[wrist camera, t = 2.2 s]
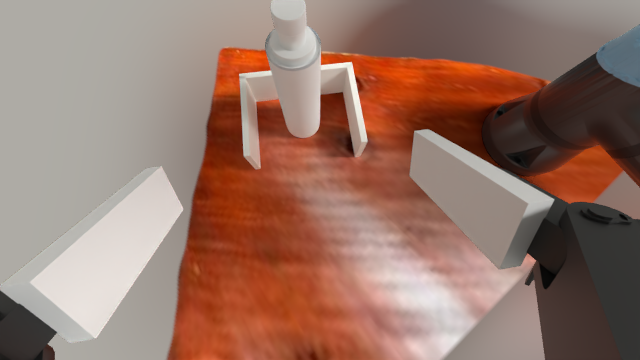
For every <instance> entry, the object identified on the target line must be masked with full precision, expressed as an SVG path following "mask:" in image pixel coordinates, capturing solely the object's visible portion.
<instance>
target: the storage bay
mask: <svg viewBox="0 0 640 360" xmlns="http://www.w3.org/2000/svg"><path fill="white" fill-rule="evenodd" d="M239 75H240V94H241V114H242V133H243V153H244V157H245V158H246V160H247V161H248V162H249V163H250V164H251V165H252V166H253V167H254V168H255V169H261V163H260V149H259V135H258V121H257V107H256V102H258V101H267V100H276V99H279V97H278V94H277V90H276V86H275V83H274V79H273V76H272V72H271V71H263V72H253V73H244V74H239ZM339 92H343V95H344V100H345V106H346V111H347V117H348V122H349V128H350V133H351V139H352V144H353V150H354V155H355V157H360V156H361V154H362V152H363V150H364V148H365V146H366V144H367V142H368V140H367V135H366V130H365V125H364V120H363V115H362V111H361V106H360V101H359V96H358V91H357V86H356V81H355V76H354V71H353V66H352V62H348V63H338V64H329V65H321V85H320V95H321V94H330V93H339Z"/></svg>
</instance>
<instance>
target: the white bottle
mask: <svg viewBox="0 0 640 360" xmlns="http://www.w3.org/2000/svg"><path fill="white" fill-rule="evenodd" d="M270 10H271V14H272V20H273V24H274V28H275V29H274V30H273V31H272V32H271V33H270V34H269V35H268V37H267V39H266V42H265V50H266V54H267V57H268V61H269V65H270V68H271V72H272V76H273V79H274V83H275V86H276V90H277V94H278V97H279V101H280V104H281V108H282V111H283V115H284V118H285V122H286V126H287V128H288V130H289V132H290V133H291V134H292V135H294V136H296V137H299V138H307V137H310V136H312V135H314V134H315V133H316V132H317V130H318V129H319V126H320V85H321V46H320V45H321V44H320V43H321V42H319V41H320V38H319V36H318V34H317V33H316V32H315V31H314V30H313V29H312V28H310V27H309V26H306V25H307V18H306V4H305V2H304V0H272V2H271V5H270ZM316 36H317V37H316ZM269 38H270V39H269ZM318 39H319V40H318ZM267 42H268V43H267ZM266 45H267V46H266Z"/></svg>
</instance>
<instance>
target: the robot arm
mask: <svg viewBox="0 0 640 360" xmlns="http://www.w3.org/2000/svg"><path fill="white" fill-rule="evenodd" d="M482 138H483V142H484V145H485V147H486V149H487V151H488V153H489V154H490V156H491V157H492V158H493V159H494V160H495V161H496V162H497V163H498V164H499V165H500V166H502V167H503V168H505V169H507V170H505V169H502V168H499V167H496V166H494V165H492V164H490V163H488V162H487V161H485V160H483V159H481V158H479V157H478V156H476V155H474V154H472V153H470V152H469V151H467V150H465V149H463V148H461V147H460V146H458V145H456V144H454V143H452V142H451V141H449V140H447V139H445V138H443V137H442V136H440V135H438V134H436V133H434V132H433V131H431V130H429V129H425V130H418V131H414V139H413V148H412V157H411V166H410V174H409V176H410V177H411V178H412V179H413V180H414V182H415V183H416V184H417V185H418V186H419V187H420V188H421V189H422V190H423V191H424V192H425V193H426V194H427V195H428V196H429V197H430V198H431V199H432V200H433V201H434V202H435V203H436V204H437V205H438V207H439V208H440V209H441V210H442V211H443V212H444V213H445V214H446V215H447V216H448V217H449V218H450V219H451V220H452V221H453V222H454V223H455V224H456V225H457V226H458V227H459V228H460V229H461V230H462V232H463V233H464V234H465V235H466V236H467V237H468V238H469V239H470V240H471V241H472V242H473V243H474V244H475V245H476V246H477V247H478V248H479V249H480V250H481V251H482V252H483V253H484V254H485V255H486V257H487V258H488V259H489V260H490V261H491V262H492V263H493V264H494V265H495V266H496V267H497V268H498V269H505V268H511V267H517V266H521V264H522V262H523V260H524V258H525V256H526V254H527V253H528V254H529V255H531V256H532V257H533V258H534V259H535V260H537V261H536V262H535V264H534V266H533V268H532V270H531V271H530V273H529V275H528V277H527V279H526V281H525V284H526V285H528V286H529V285H530V283H531V282H532V281H533V280H535V288H536V294H537V302H538V310H539V317H540V324H541V332H542V339H543V347H544V354H545V360H640V220H638V219H632V218H631V217H629V216H628V215H626V214H624V213H622V212H620V211H618V210H615V209H612V208H610V207H607V206H603V205H599V204H595V203H587V202H574V203H571V204H569V203H567V202H565V201H563V200H561V199H559V198H558V197H556V196H554V195H552V194H550V193H548V192H547V191H545V190H543V189H541V188H539V187H537V186H536V185H534V184H530V183H529V182H528V181H526V180H525V179H523V178H519V176H517V175H515V174H513V173H516V174H519V175H525V176H535V175H540V174H543V173H547V172H550V171H553V170H555V169H557V168H559V167H561V166H562V165H564V164H565V163H566V162H568V161H569V160H571V159H572V158H574V157H575V156H576V155H578V154H579V153H581V152H582V151H584V150H585V149H588V148H591V147H594V146H597V145H600V146H601V147H602V148H603V149H604V150H605V151H606V152H607V153H608V154H609V155H610V156H611V157H612V158H613V159H614V160H615V161H616V163H617V164H618V165H619V166H620V167H621V168H622V169H623V170H624V171H625V172H626V173H627V174H628V175H629V176H630V178H631V179H632V180H633V181H634V182H635V183H636V184H637V185H638V186H639V187H640V24H639V25H638V26H636V27H634V28H633V29H631V30H630V31H628V32H626V33H625V34H623V35H622V36H620V37H618V38H616V39H614V40H611V41H609V42H608V43H606V44H605V45H603V46H602V47H601V48H600V49H599V51H598V52H596V53H595V54H593V55H592V56H590V57H589V58H587V59H586V60H584V61H583V62H581V63H580V64H578V65H577V66H575V67H574V68H572V69H571V70H570V71H568V72H566V73H565V74H563V75H561V76H560V77H558V78H557V79H555V80H554V81H552V82H551V83H549V84H548V85H546V86H545V87H543V88H542V89H540V90H539V91H537V92H534V93H531V94H528V95H525V96H522V97H519V98H516V99H513V100H510V101H507V102H505V103H503V104H502V105H500V106H499V107H497V108H496V109H495V110H493V111H492V112H491V113H490V114H489V115H488V116H487V117H486V119H485V121H484V123H483V127H482ZM508 170H509V171H508ZM510 171H511V172H510ZM512 172H513V173H512ZM182 211H183V207H182V205H181V203H180V201H179V199H178V197H177V195H176V193H175V191H174V189H173V188H172V186H171V184H170V182H169V180H168V178H167V176H166V174H165V172H164V170H163V168H162V166H157V167H150V168H145V169H144V170H143V171H142V172H140V173H139V174H138V175H137V176H135V177H134V178H133V179H132V180H131V181H130V182H128V183H127V184H125V185H124V186H123V187H122V188H120V189H119V190H118V191H117V192H115V193H114V194H113V195H112V196H110V197H109V198H108V199H107V200H105V201H104V202H103V203H102V204H100V205H99V206H98V207H97V208H96V209H94V210H93V211H92V212H90V213H89V214H88V215H87V216H85V217H84V218H83V219H82V220H81V221H79V222H78V223H77V224H75V225H74V226H73V227H72V228H70V229H69V230H68V231H67V232H65V233H64V234H63V235H62V236H60V237H59V238H58V239H57V240H55V241H54V242H53V243H52V244H50V245H49V246H48V247H47V248H46V249H44V250H43V251H42V252H41V253H39V254H38V255H37V256H36V257H34V258H33V259H32V260H31V261H29V262H28V263H27V264H26V265H24V266H23V267H22V268H21V269H19V270H18V271H17V272H16V273H14V274H13V275H12V276H11V277H9V278H8V279H7V280H6V281H4V282H3V283H2V284H1V285H0V360H55V352H54V350H53V348H52V347H51V346H49V345H48V343H49V341H50V340H51V339H52V338H53V337H54V335H55V334H56V333H57V334H59V335H60V336H61V337H63V338H64V339H65V340H66V341H68V342H69V343H74V342H80V341H86V340H92V339H96V338H97V336H98V335H99V333H100V332H101V330H102V329H103V327H104V326H105V325H106V323H107V322H108V320H109V319H110V317H111V316H112V314H113V313H114V311H115V310H116V308H117V307H118V305H119V304H120V302H121V301H122V300H123V298H124V297H125V295H126V294H127V292H128V291H129V289H130V288H131V286H132V285H133V283H134V282H135V280H136V279H137V277H138V276H139V275H140V273H141V272H142V270H143V269H144V267H145V266H146V264H147V263H148V261H149V260H150V258H151V257H152V255H153V254H154V252H155V251H156V249H157V248H158V246H159V245H160V243H161V242H162V241H163V239H164V238H165V236H166V235H167V233H168V232H169V230H170V229H171V227H172V226H173V224H174V223H175V221H176V220H177V219H178V217H179V215H180V214H181V213H182Z"/></svg>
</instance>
